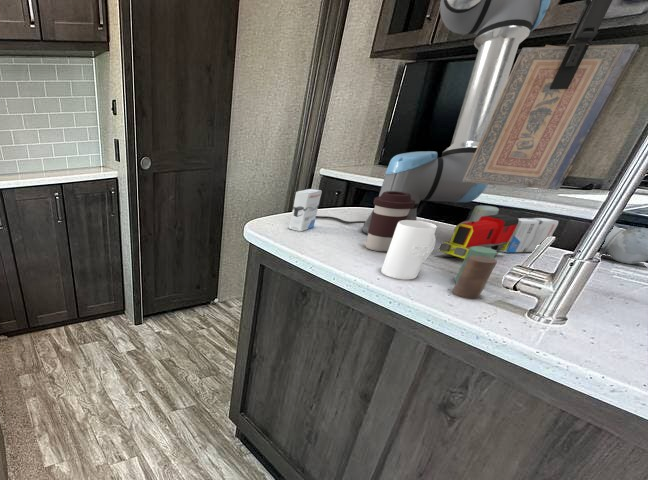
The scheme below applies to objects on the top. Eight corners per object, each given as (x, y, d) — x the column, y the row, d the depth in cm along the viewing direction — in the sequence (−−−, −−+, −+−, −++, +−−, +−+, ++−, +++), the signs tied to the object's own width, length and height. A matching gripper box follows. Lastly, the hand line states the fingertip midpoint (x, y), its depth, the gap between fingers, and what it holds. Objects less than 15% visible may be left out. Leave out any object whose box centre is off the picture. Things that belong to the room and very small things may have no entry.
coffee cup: (367, 241, 122) (384, 188, 113) (402, 248, 116) (422, 193, 107) (354, 248, 116) (371, 193, 107) (390, 256, 110) (410, 198, 102)
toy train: (504, 254, 110) (524, 217, 105) (459, 263, 104) (477, 224, 99) (479, 248, 116) (497, 212, 110) (434, 256, 109) (450, 218, 104)
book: (461, 183, 89) (524, 39, 76) (462, 181, 94) (521, 46, 80) (559, 193, 81) (648, 35, 68) (554, 190, 86) (636, 42, 72)
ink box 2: (492, 248, 116) (526, 247, 117) (507, 253, 112) (543, 252, 113) (506, 217, 111) (542, 217, 113) (523, 221, 107) (560, 220, 109)
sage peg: (453, 284, 93) (469, 250, 89) (454, 277, 96) (470, 244, 92) (479, 288, 91) (497, 254, 86) (479, 282, 94) (496, 248, 90)
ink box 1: (301, 224, 138) (309, 188, 132) (314, 227, 135) (323, 190, 129) (287, 228, 134) (295, 191, 127) (301, 231, 131) (309, 193, 124)
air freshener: (480, 238, 124) (496, 204, 118) (498, 246, 117) (516, 210, 111) (445, 238, 124) (459, 204, 118) (461, 245, 117) (477, 210, 112)
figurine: (579, 258, 110) (651, 278, 100) (600, 225, 105) (680, 242, 94) (597, 250, 114) (669, 268, 103) (619, 218, 108) (698, 233, 97)
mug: (437, 275, 98) (459, 225, 91) (400, 281, 94) (420, 230, 88) (409, 265, 104) (427, 217, 97) (373, 270, 101) (390, 221, 94)
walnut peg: (451, 295, 88) (468, 259, 83) (453, 288, 91) (469, 253, 87) (478, 300, 85) (497, 264, 81) (479, 293, 89) (497, 258, 84)
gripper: (692, -110, 57) (589, 88, 70) (655, -70, 70) (574, 90, 83) (620, -97, 60) (535, 88, 74) (597, -62, 73) (529, 90, 87)
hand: (556, 89), depth 78 cm, fingers closed on book, 7 cm apart
